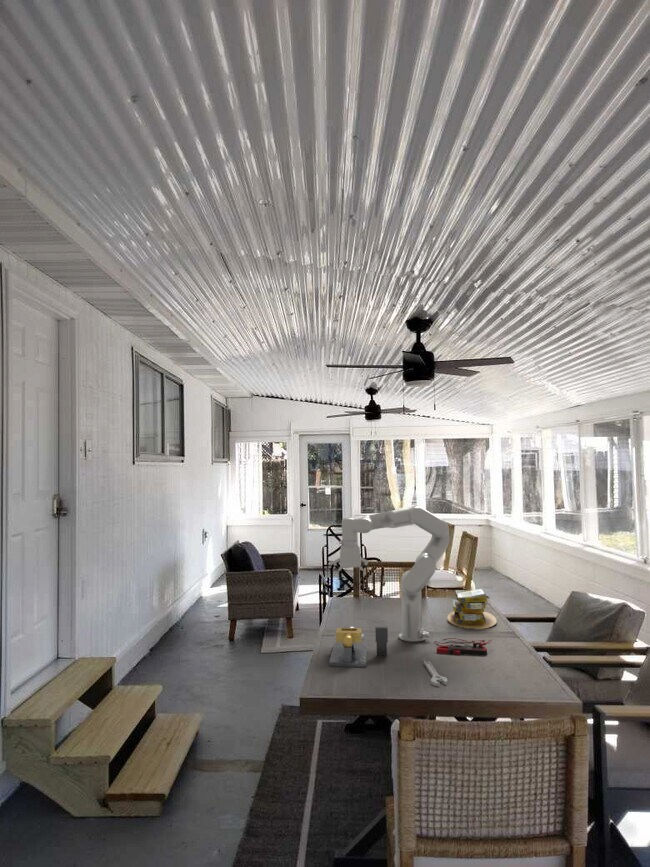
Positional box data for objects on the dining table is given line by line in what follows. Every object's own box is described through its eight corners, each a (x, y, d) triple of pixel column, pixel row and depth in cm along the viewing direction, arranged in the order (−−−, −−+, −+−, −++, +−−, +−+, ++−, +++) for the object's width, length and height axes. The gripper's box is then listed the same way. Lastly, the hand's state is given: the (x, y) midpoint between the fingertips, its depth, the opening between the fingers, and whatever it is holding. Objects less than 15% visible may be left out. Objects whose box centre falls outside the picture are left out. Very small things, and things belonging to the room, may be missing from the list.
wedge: (375, 654, 238) (375, 626, 239) (387, 655, 238) (387, 626, 238) (375, 656, 236) (375, 627, 237) (387, 656, 236) (387, 628, 236)
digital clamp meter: (495, 647, 235) (435, 644, 239) (495, 658, 234) (435, 655, 238) (488, 632, 258) (434, 629, 262) (488, 641, 257) (434, 639, 261)
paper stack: (495, 630, 273) (494, 596, 274) (445, 626, 281) (444, 593, 282) (497, 618, 296) (496, 586, 297) (450, 614, 304) (449, 584, 305)
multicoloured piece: (334, 646, 249) (333, 621, 250) (367, 647, 248) (366, 622, 248) (329, 665, 225) (329, 638, 225) (366, 667, 223) (365, 638, 224)
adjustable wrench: (422, 664, 228) (422, 659, 228) (438, 664, 228) (438, 659, 228) (432, 687, 203) (432, 682, 203) (449, 687, 203) (449, 682, 203)
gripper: (332, 544, 265) (332, 580, 263) (367, 543, 264) (369, 580, 263) (332, 542, 272) (333, 577, 271) (367, 542, 271) (368, 577, 270)
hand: (350, 578), depth 267 cm, fingers open, 9 cm apart
